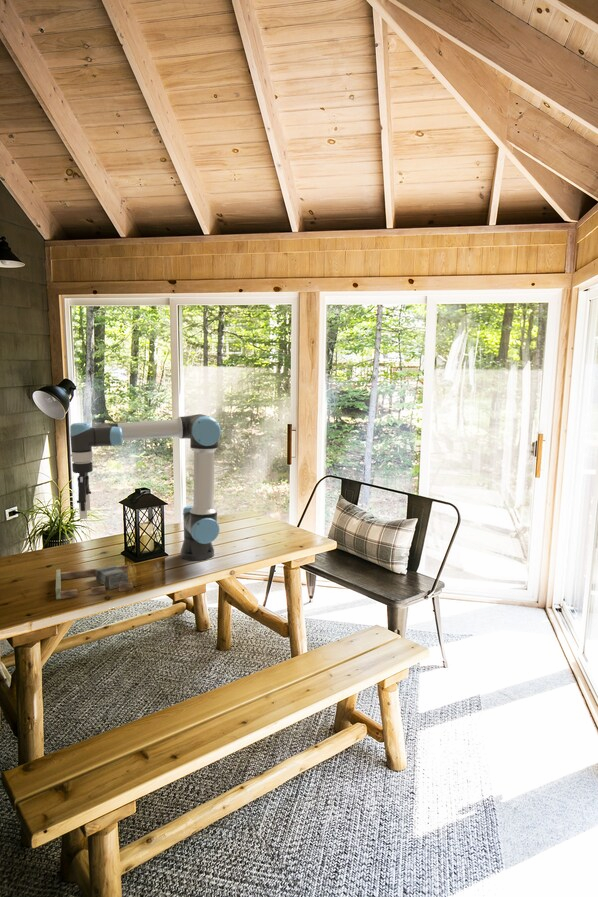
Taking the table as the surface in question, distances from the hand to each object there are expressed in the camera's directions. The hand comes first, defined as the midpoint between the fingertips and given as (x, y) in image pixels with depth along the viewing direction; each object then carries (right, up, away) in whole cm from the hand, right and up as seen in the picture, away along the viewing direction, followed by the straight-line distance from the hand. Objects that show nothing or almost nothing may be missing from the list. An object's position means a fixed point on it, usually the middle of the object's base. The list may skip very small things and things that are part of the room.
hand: (85, 514), depth 245 cm
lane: (+5, -27, -2) cm, 28 cm away
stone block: (+11, -28, 0) cm, 30 cm away
